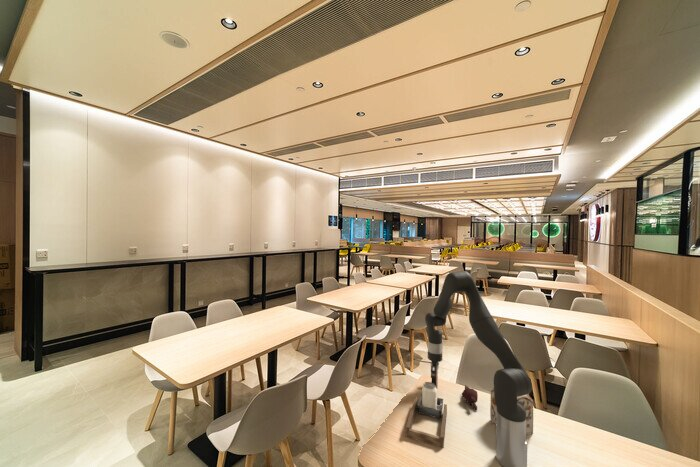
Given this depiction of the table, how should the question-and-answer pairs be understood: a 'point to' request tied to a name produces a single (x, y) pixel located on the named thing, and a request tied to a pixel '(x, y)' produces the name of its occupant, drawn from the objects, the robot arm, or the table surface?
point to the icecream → (470, 396)
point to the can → (429, 395)
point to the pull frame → (431, 411)
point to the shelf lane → (421, 435)
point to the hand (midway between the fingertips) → (434, 380)
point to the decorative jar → (523, 401)
